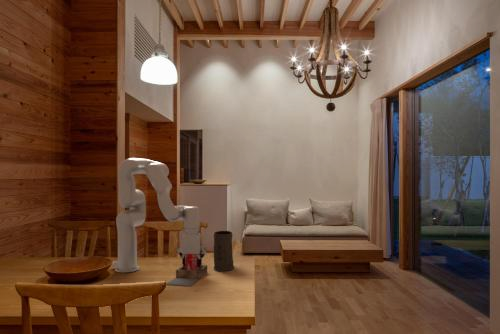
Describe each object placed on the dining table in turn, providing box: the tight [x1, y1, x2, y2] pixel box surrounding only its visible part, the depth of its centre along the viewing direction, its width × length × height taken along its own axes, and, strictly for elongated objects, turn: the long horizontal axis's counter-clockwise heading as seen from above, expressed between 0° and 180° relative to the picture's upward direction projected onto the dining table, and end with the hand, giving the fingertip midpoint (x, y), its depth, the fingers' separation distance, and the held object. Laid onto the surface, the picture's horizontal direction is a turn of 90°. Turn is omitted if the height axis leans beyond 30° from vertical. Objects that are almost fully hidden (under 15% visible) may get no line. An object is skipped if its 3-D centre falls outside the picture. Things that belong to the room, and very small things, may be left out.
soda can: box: [185, 253, 199, 271], centre depth 187 cm, size 7×7×12 cm
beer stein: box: [213, 230, 235, 273], centre depth 201 cm, size 15×11×20 cm
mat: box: [166, 277, 199, 288], centre depth 175 cm, size 12×10×1 cm
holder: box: [175, 264, 208, 281], centre depth 187 cm, size 12×12×4 cm
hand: (192, 266), depth 187 cm, fingers closed on soda can, 7 cm apart
